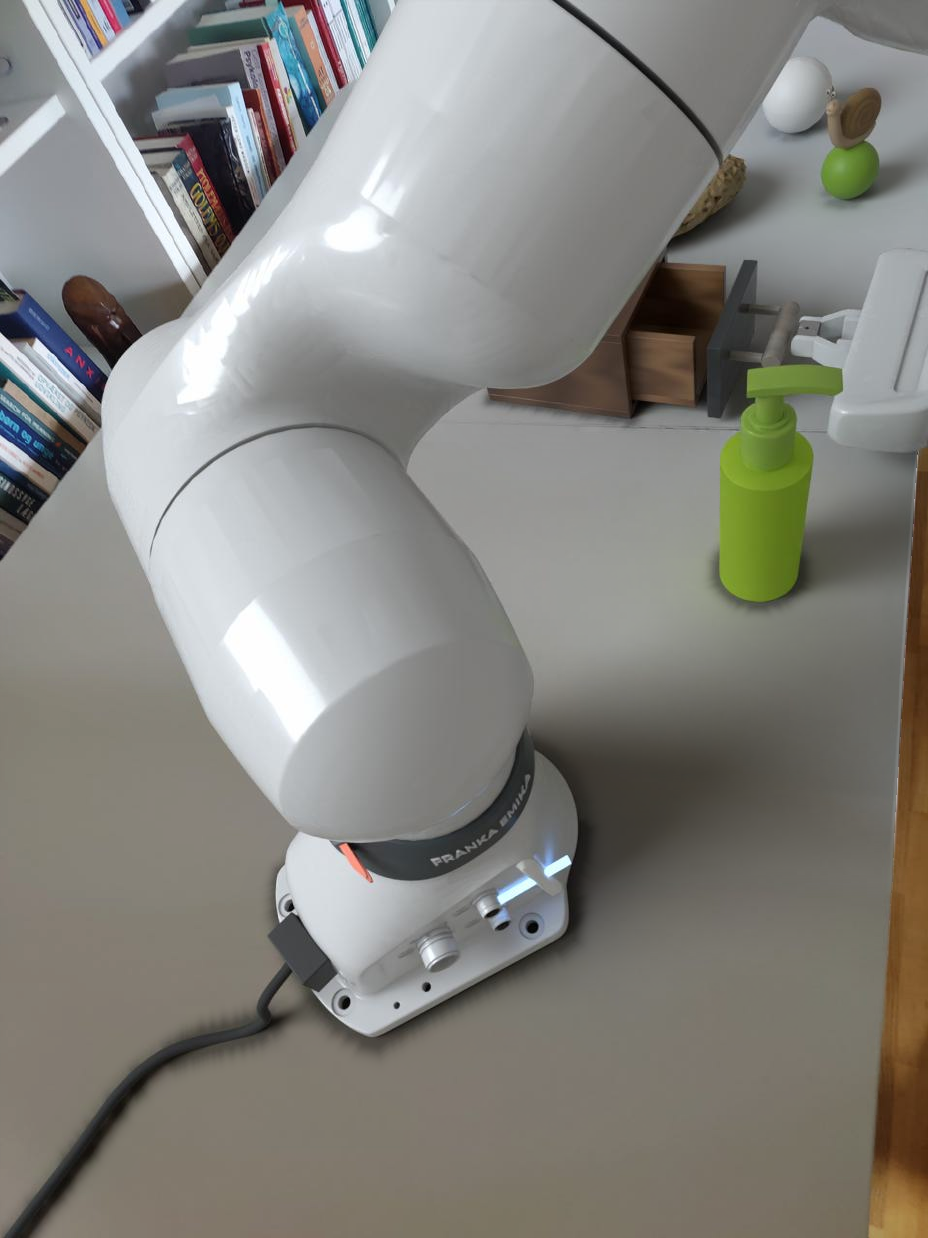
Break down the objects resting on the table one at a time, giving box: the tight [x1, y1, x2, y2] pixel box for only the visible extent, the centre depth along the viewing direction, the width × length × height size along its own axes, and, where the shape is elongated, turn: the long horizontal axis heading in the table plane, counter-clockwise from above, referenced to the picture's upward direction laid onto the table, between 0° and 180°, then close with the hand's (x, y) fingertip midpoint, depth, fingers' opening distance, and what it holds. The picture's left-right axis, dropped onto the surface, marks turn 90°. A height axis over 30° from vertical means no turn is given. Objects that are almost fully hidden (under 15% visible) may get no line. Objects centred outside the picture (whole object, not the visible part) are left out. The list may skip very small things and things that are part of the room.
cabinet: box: [486, 244, 669, 420], centre depth 81 cm, size 15×13×10 cm
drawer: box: [625, 259, 802, 419], centre depth 76 cm, size 18×11×8 cm, turn 65°
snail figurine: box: [820, 87, 883, 200], centre depth 84 cm, size 5×6×12 cm
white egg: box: [762, 55, 835, 134], centre depth 95 cm, size 10×7×7 cm
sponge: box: [671, 153, 747, 239], centre depth 91 cm, size 13×8×20 cm
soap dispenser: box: [718, 364, 843, 603], centre depth 59 cm, size 6×7×20 cm
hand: (794, 335), depth 72 cm, fingers closed
